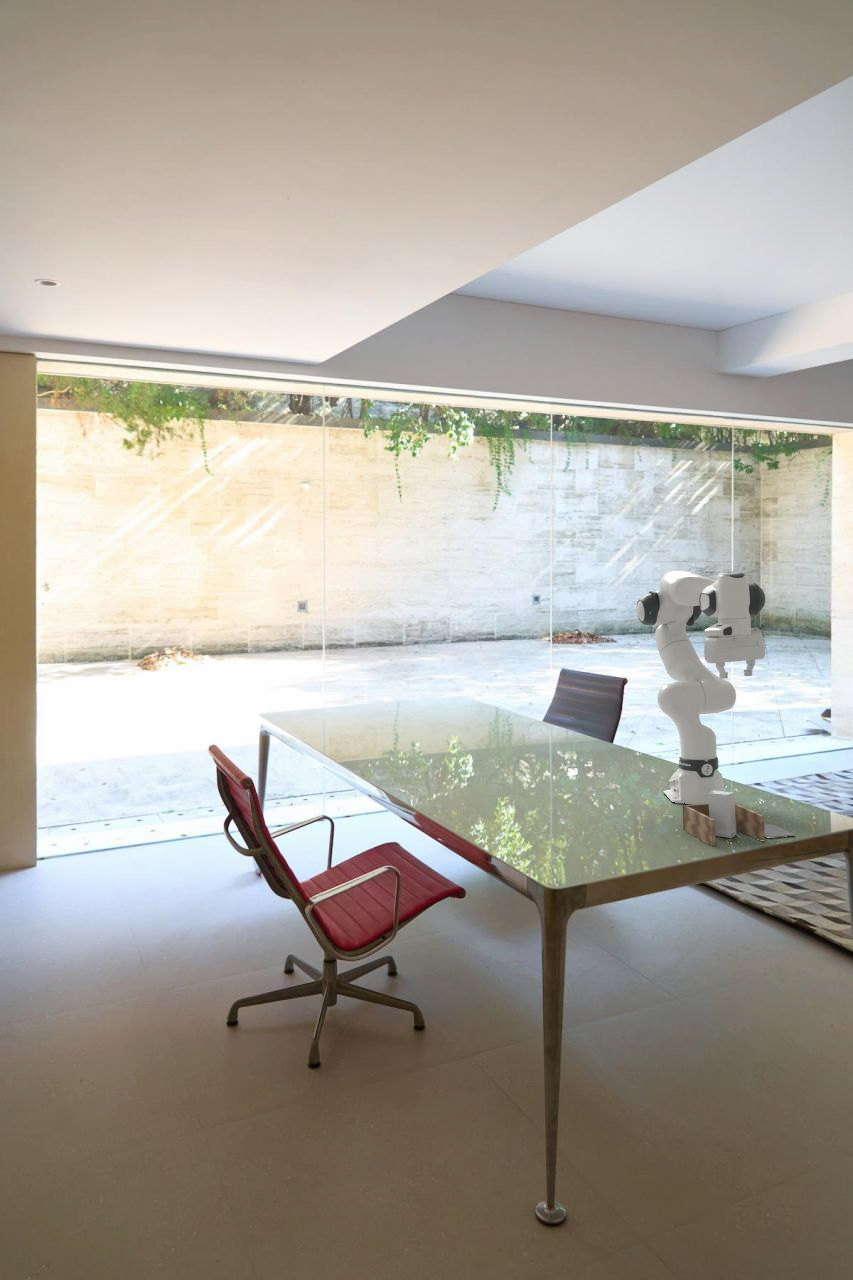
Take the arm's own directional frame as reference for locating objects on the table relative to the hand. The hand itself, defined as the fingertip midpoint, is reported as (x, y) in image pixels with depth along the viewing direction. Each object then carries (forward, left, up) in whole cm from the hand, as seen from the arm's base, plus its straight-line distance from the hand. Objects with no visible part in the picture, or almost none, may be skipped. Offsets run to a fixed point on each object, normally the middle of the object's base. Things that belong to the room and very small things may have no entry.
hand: (736, 677), depth 264 cm
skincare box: (+8, -9, -43) cm, 45 cm away
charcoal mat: (+9, +4, -43) cm, 44 cm away
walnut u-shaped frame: (+8, -9, -43) cm, 45 cm away
